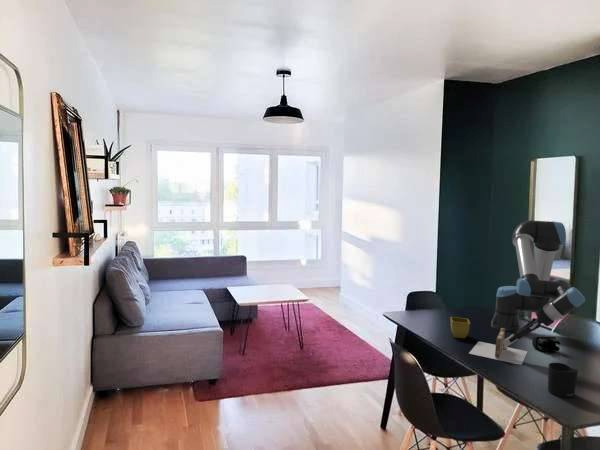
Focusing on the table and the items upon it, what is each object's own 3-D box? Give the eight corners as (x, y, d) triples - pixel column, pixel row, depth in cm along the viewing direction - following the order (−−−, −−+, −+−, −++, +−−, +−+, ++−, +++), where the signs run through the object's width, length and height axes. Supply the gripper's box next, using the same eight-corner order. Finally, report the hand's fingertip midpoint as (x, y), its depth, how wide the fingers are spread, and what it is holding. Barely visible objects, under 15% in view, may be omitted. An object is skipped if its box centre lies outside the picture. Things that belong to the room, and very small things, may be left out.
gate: (499, 345, 225) (501, 327, 225) (504, 346, 224) (505, 328, 224) (494, 356, 209) (496, 337, 208) (499, 357, 208) (500, 338, 207)
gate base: (478, 342, 232) (478, 340, 232) (527, 352, 221) (527, 350, 221) (468, 354, 214) (468, 352, 214) (521, 365, 202) (521, 364, 202)
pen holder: (548, 395, 172) (550, 369, 172) (545, 386, 181) (547, 360, 180) (577, 400, 169) (580, 373, 168) (572, 390, 178) (575, 365, 177)
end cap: (550, 348, 228) (551, 335, 227) (560, 353, 221) (561, 339, 220) (531, 348, 227) (532, 334, 226) (540, 353, 220) (541, 339, 219)
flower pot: (469, 340, 234) (470, 323, 233) (450, 338, 236) (452, 321, 235) (466, 335, 243) (467, 318, 242) (449, 333, 244) (450, 316, 244)
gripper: (554, 324, 195) (508, 355, 205) (556, 318, 207) (512, 347, 217) (541, 310, 198) (495, 340, 208) (543, 304, 209) (500, 333, 219)
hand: (504, 344), depth 212 cm, fingers closed
